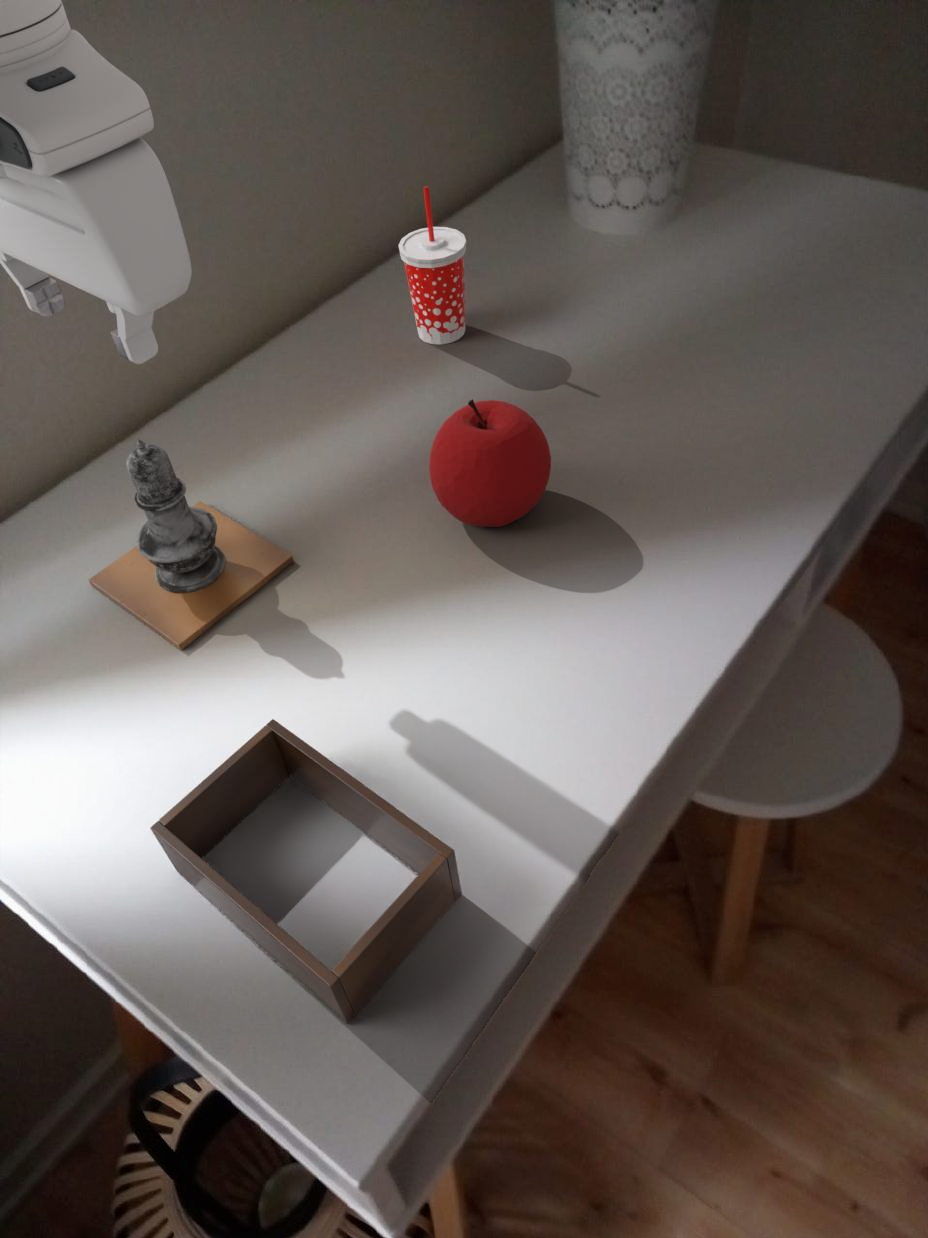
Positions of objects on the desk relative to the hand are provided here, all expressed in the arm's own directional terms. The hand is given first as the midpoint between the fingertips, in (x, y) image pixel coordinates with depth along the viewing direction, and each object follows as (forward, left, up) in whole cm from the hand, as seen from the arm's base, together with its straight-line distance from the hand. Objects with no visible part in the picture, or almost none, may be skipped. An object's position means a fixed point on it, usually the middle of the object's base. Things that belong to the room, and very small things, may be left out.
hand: (93, 332), depth 58 cm
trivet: (0, 0, -21) cm, 21 cm away
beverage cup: (+36, +6, -21) cm, 42 cm away
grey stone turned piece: (0, 0, -20) cm, 20 cm away
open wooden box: (-12, -26, -21) cm, 35 cm away
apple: (+19, -14, -21) cm, 32 cm away
